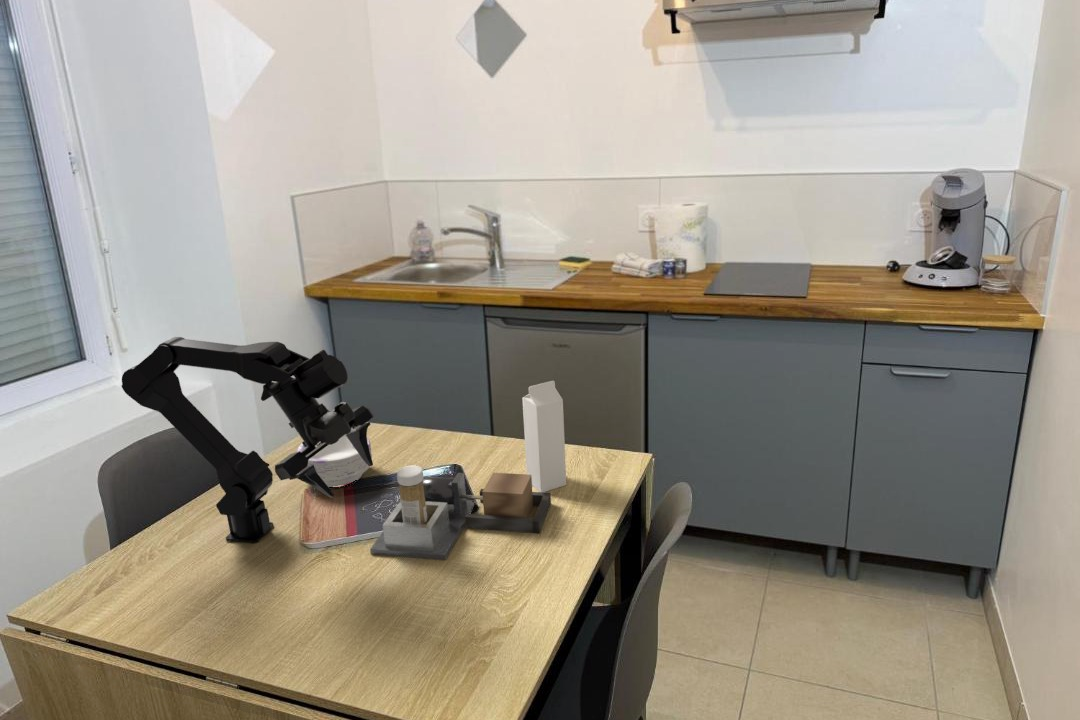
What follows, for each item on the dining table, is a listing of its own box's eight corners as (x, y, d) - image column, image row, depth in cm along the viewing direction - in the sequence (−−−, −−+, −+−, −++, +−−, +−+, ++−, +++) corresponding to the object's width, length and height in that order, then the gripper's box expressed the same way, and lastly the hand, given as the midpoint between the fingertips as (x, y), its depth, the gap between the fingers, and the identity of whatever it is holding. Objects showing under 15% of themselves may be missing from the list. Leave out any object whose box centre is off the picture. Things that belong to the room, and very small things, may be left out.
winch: (370, 553, 141) (365, 517, 138) (409, 500, 158) (405, 467, 156) (472, 562, 137) (468, 524, 134) (500, 506, 154) (497, 472, 152)
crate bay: (466, 528, 147) (463, 494, 145) (482, 499, 157) (479, 467, 155) (539, 533, 144) (537, 499, 142) (550, 503, 154) (549, 471, 152)
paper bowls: (389, 470, 171) (384, 437, 168) (337, 502, 159) (332, 466, 156) (339, 456, 179) (334, 424, 176) (286, 485, 167) (280, 451, 164)
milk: (566, 485, 161) (563, 384, 154) (540, 493, 158) (536, 391, 151) (551, 473, 166) (547, 375, 159) (526, 481, 163) (521, 382, 156)
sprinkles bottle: (434, 533, 144) (427, 467, 140) (418, 546, 140) (411, 478, 136) (415, 527, 146) (408, 462, 142) (399, 539, 143) (390, 473, 138)
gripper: (273, 432, 126) (329, 511, 128) (361, 372, 137) (410, 445, 140) (251, 441, 134) (304, 515, 137) (335, 383, 146) (382, 452, 148)
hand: (352, 481), depth 140 cm, fingers open, 9 cm apart
